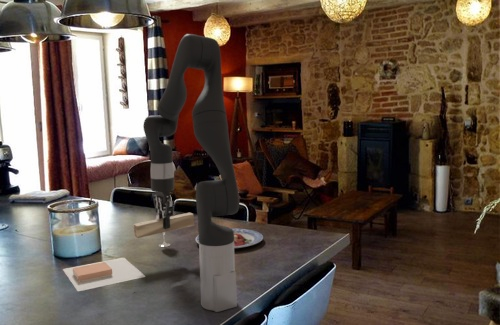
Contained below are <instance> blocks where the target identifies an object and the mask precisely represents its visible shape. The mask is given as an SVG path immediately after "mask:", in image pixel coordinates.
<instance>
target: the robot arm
mask: <svg viewBox="0 0 500 325" xmlns="http://www.w3.org/2000/svg"><path fill="white" fill-rule="evenodd" d="M220 48H221V46H220V45H219V42H218V41H217V40H216V39H215V38H212V37H208V36H203V35H198V34H193V33H186V34H184V35H183V37H182V38H181V40H180V41H179V43H178V46H177V48H176V49H177V50H176V52H175V55H174V60H173V62H172V66H171V70H170V74H169V78H168V81H167V85H166V88H165V90H164V92H163V94H162V97H161V98H160V100H159V102H158V105H157V113H158V114H159V115H158V114H157V115H155V114H154V115H149V116H147V117H145V119H144V121H143V126H142V127H143V132H144V135H145V137H146V140H147V141H146V142H147V144H148V147H149V151H150V186H151V187H150V188H151V191H152V192H154V193H155V195H152V199H153V204H154V210H155V213H156V214H158V215H159V219H161V218H163V228H164V229H168V228H170V217H171V216H174V212H175V211H174V210H175V203H176V202H175V200H172V196H171V192H172V191H174V190H175V172H174V171H175V170H174V164H173V163H174V162H173V160H174V159H173V149H172V148H173V147H172V146H171V144H168V143H167V144H166V143H162V142H161V140H160V138H162V137H163V138H164V137H171V136H173V135H174V134H175V133H176V132H177V129H178V121H179V117H180V116H179V115H180V113H181V112H182V110H183V107H184V106H185V103H186V101H187V95H188V92H187V86H186V83H185V77H184V76H185V73H186V71H187V70H188V68H189V69H195V70H201V71H203V73H204V86H203V89H202V90H201V93H200V94H199V96H198V98H197V100H196V102H195V103H194V105H193V109H192V111H191V113H192V114H191V115H192V125H193V133H194V136H195V139H196V140H197V143H198V144H199V145H200V146H201V148H202V149H203V150H204V151H205V152H206V153H207V155H209V158H211V160H212V161H213V163H214V164H215V165H216V168H217V170H218V173H219V175H220V178H221V179H216V180H204V181H200V182H198V183H197V184H196V189H195V202H196V203H195V204H196V212H197V215H196V216H197V230H198V231H197V232H198V235H199V244H198V254H199V255H198V256H199V280H200V282H199V284H200V285H199V286H200V304H201V307H202V308H203V309H205V310H208V311H213V312H215V313H219V312H222V311H226V310H230V309H232V308H236V307H238V302H237V300H238V299H237V272H236V269H235V264H236V263H235V249H234V232H233V230H232V229H231V227H228V226H225V225H220V224H218V223H215V222H214V221H213V220H212V217H219V216H232V215H235V214H237V213H238V211H239V209H240V194H239V193H240V192H239V187H238V183H237V178H236V177H237V176H236V173H235V169H234V167H235V166H234V162H233V158H232V153H231V146H230V137H229V135H230V134H229V125H228V118H227V112H226V111H227V110H226V105H225V98H224V91H223V79H222V78H223V76H222V75H223V74H222V54H221V49H220Z"/></svg>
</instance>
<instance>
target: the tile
mask: <svg viewBox="0 0 500 325" xmlns="http://www.w3.org/2000/svg"><path fill="white" fill-rule="evenodd" d="M96 263H97V262H96ZM91 264H92V263H91ZM86 265H87V264H86ZM81 266H82V265H81ZM73 274H74V275H75V277H76V278H77V280H78V281H79V282H82V281H87V280H92V279H97V278H101V277H106V276H111V275H112V269H111V268H110V267H109V266H108V265H107V264H106V263H105V262H103V263H97V264H92V265H87V266H82V267H77V268H73Z"/></svg>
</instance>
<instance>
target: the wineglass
mask: <svg viewBox="0 0 500 325" xmlns="http://www.w3.org/2000/svg"><path fill="white" fill-rule="evenodd" d="M156 219H159V215H158V213H156V216H155V220H156ZM162 236H163V243H159V244H158V247H159V248H167V247H169V246H171V243H168V242H166V240H165V239H166V238H165V237H166V232H163V233H162Z"/></svg>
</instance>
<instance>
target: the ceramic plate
mask: <svg viewBox="0 0 500 325" xmlns="http://www.w3.org/2000/svg"><path fill="white" fill-rule="evenodd" d="M230 228H231V227H230ZM231 229H232V230H233V232H234V250H236V249H241V248H246V247H250V246H254V245H257V244H259V243H261V241H263V239H264V236H263V235H262V233H261V232H258V231H256V230H251V229H247V228H246V229H245V228H234V227H233V228H231ZM195 242H196V243H197V244H198V245H199V234H198V235H197V236H196V237H195Z"/></svg>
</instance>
